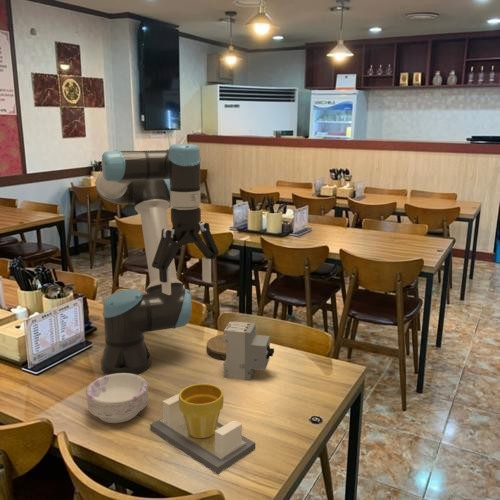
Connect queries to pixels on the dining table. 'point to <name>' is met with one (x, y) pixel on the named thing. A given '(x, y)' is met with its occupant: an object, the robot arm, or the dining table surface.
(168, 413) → the mounted modules
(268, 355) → the circuit breaker
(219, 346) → the wood slice
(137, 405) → the paper bowls
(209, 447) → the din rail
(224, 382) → the dining table surface
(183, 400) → the plant pot
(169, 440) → the mounting plate
